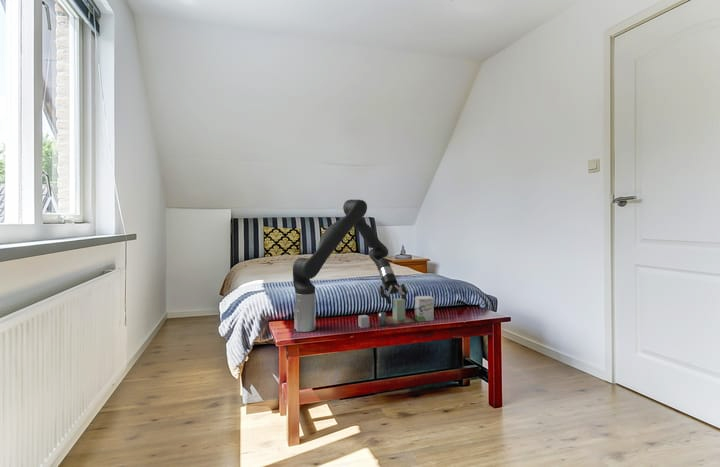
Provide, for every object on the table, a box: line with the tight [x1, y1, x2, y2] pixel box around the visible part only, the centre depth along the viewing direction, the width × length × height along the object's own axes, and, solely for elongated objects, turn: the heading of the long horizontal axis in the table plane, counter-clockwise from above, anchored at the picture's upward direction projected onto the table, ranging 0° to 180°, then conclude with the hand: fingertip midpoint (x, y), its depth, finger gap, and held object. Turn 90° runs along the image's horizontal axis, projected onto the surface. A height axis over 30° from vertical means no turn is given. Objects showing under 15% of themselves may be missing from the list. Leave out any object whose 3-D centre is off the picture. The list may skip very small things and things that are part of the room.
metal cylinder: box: [377, 311, 387, 327], centre depth 189 cm, size 4×4×6 cm
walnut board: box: [386, 315, 416, 326], centre depth 197 cm, size 12×12×1 cm
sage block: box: [392, 297, 406, 321], centre depth 197 cm, size 5×5×10 cm
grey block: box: [357, 314, 370, 329], centre depth 187 cm, size 4×4×5 cm
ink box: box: [414, 295, 435, 322], centre depth 199 cm, size 8×5×12 cm, turn 107°
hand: (397, 303), depth 197 cm, fingers open, 8 cm apart
